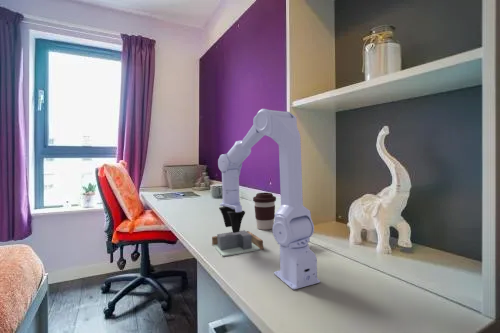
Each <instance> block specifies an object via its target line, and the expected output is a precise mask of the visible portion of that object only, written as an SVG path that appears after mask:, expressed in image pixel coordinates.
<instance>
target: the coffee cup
mask: <svg viewBox="0 0 500 333" xmlns="http://www.w3.org/2000/svg"><path fill="white" fill-rule="evenodd" d="M252 201H253V203H254V215H255V221H256V228H257V229H259V230H261V231H262V230H263V231H265V230H266V231H269V230H273V224H274V221H275V213H276V212H275V211H276V204H275V203H276V201H277V196H275V195H273V193H272V192H258V193H256V195H255V196H253V197H252Z"/></svg>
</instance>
